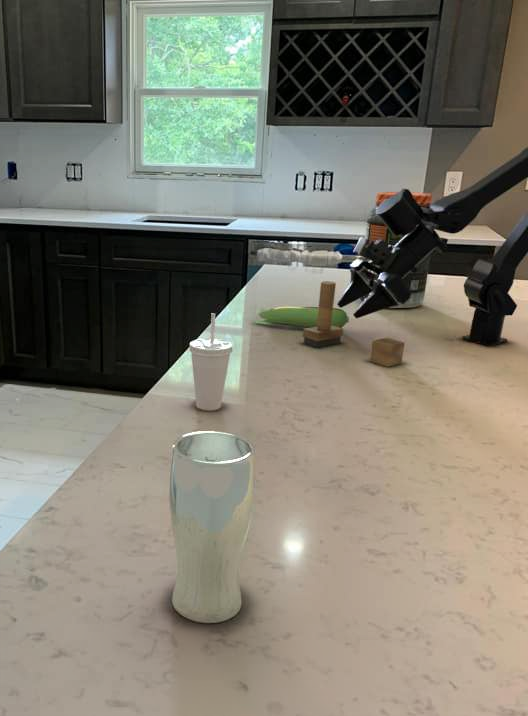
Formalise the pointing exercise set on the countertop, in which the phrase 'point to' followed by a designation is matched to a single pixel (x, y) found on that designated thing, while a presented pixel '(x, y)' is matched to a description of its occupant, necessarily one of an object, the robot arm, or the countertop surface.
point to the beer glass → (210, 521)
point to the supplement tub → (380, 231)
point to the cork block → (387, 352)
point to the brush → (324, 320)
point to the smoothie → (210, 369)
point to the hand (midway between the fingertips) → (346, 311)
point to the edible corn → (300, 317)
